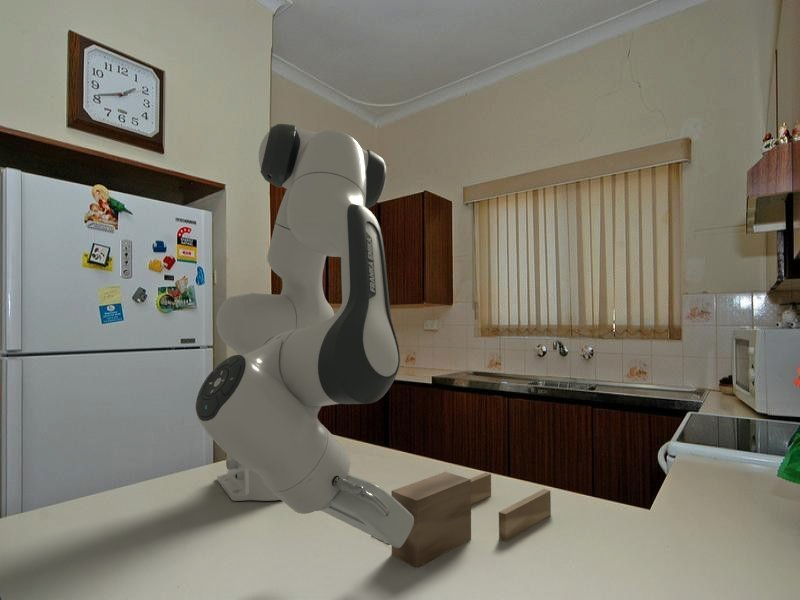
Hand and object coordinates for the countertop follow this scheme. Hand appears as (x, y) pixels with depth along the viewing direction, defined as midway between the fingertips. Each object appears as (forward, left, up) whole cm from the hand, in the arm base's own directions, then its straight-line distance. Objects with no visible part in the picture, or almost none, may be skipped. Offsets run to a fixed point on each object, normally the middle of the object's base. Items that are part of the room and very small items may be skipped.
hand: (375, 529), depth 59 cm
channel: (0, +27, -6) cm, 28 cm away
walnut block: (0, +11, -6) cm, 13 cm away
